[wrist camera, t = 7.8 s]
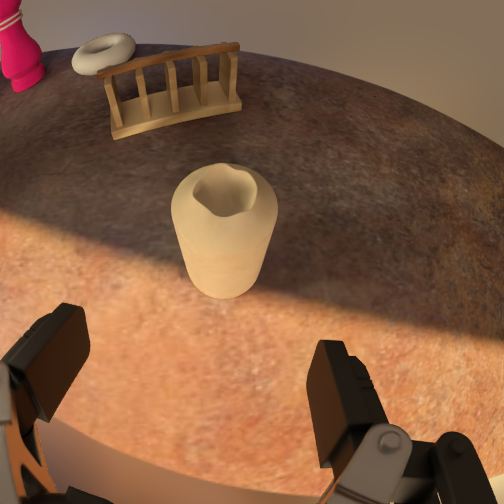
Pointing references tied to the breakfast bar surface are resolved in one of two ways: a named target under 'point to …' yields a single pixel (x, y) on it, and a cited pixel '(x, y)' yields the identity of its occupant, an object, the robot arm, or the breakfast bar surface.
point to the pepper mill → (18, 48)
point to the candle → (224, 227)
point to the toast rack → (173, 91)
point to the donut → (103, 53)
